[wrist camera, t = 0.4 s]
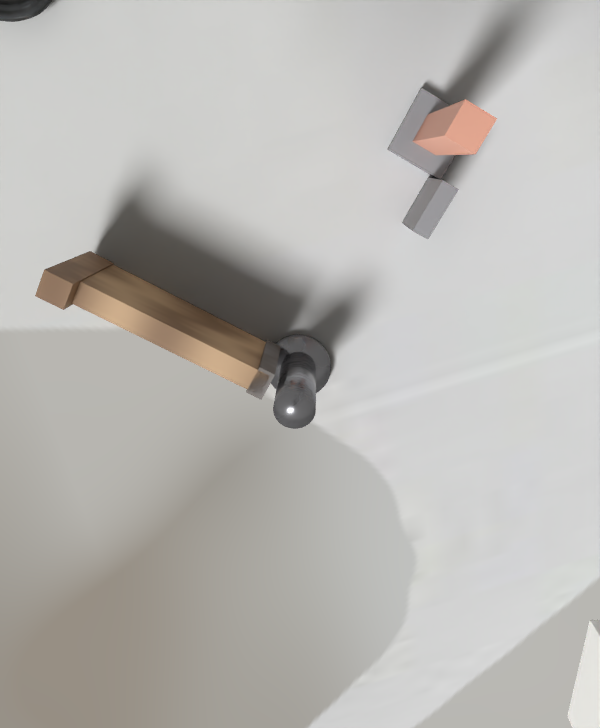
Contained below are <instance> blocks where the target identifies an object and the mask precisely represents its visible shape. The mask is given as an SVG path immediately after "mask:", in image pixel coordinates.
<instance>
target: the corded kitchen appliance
mask: <svg viewBox="0 0 600 728" xmlns="http://www.w3.org/2000/svg"><path fill="white" fill-rule="evenodd" d="M51 1H52V0H0V21H9V22H15V21H22V20H26V19H29V18H32V17H34V16H36V15H38V14H40V13H41V12H42V11H44V10H45V9H46V8H47V6H48V5H49V4H50V2H51Z"/></svg>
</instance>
